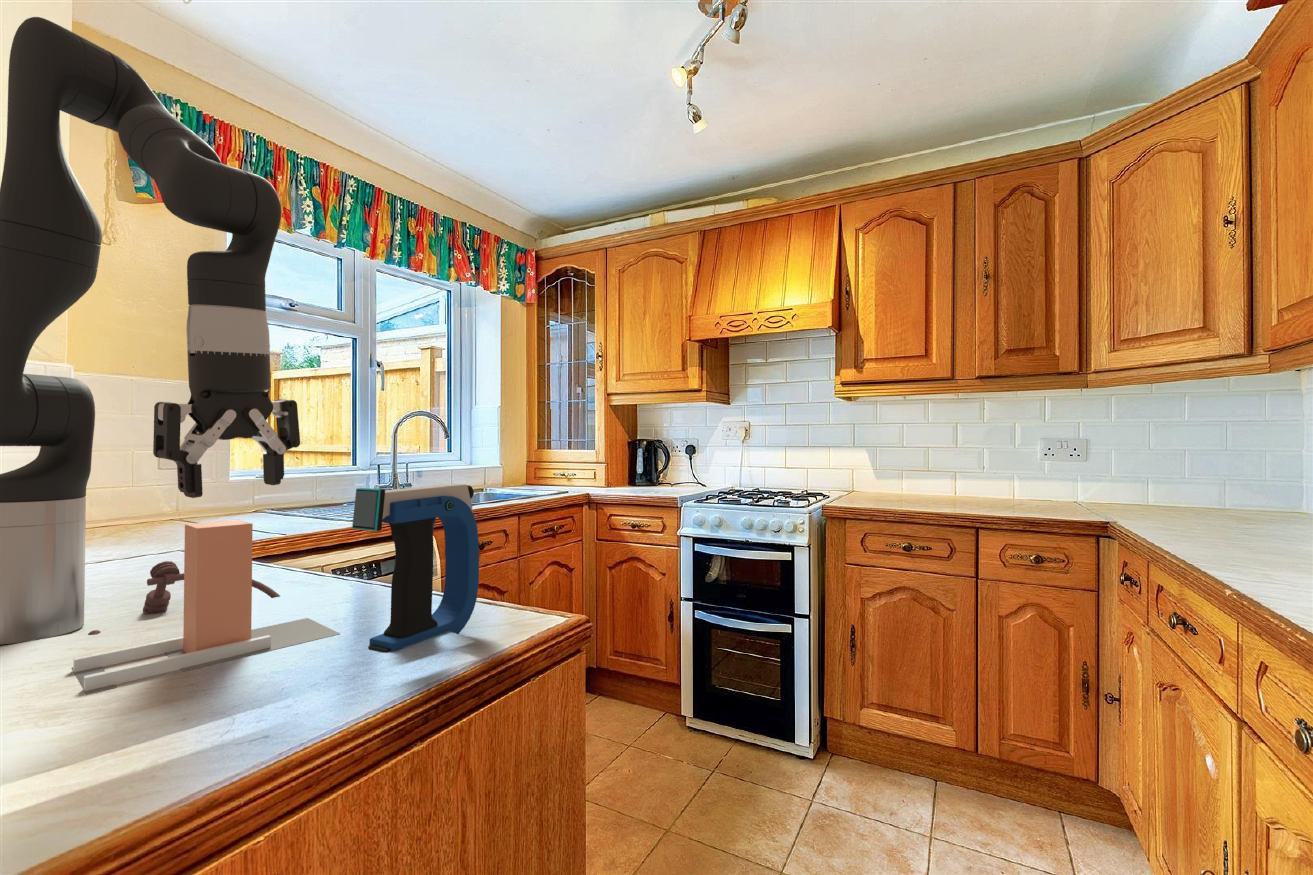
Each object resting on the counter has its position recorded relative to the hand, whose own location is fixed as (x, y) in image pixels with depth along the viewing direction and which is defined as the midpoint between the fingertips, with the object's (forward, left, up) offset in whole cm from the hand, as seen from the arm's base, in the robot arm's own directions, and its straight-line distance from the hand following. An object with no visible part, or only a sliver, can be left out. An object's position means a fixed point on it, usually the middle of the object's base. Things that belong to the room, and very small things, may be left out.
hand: (234, 490), depth 67 cm
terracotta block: (+1, -2, -18) cm, 18 cm away
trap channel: (+1, -1, -19) cm, 19 cm away
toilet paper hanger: (-23, 0, -20) cm, 30 cm away
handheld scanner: (+14, +15, -19) cm, 28 cm away
